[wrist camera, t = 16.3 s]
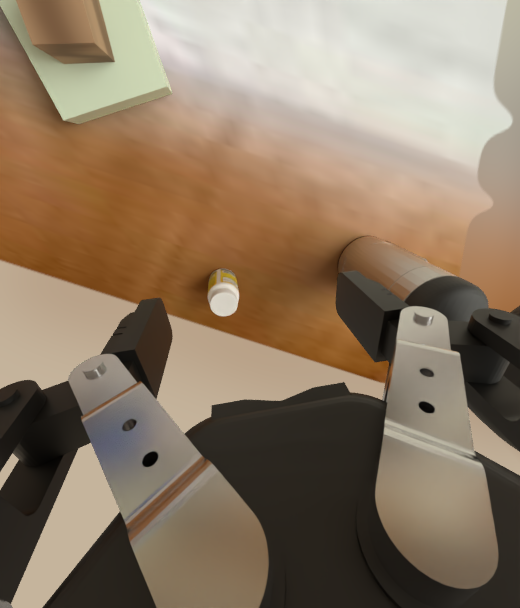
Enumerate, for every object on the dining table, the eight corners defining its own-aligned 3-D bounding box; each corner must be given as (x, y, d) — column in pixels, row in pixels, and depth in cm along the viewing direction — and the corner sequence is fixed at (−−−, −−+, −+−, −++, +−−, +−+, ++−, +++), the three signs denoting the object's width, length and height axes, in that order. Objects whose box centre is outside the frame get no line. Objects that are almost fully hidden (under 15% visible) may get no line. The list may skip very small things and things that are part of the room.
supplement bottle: (213, 295, 44) (212, 322, 37) (205, 271, 42) (201, 294, 35) (239, 289, 45) (243, 314, 37) (232, 264, 42) (235, 286, 35)
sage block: (119, -58, 25) (103, -92, 21) (173, 94, 31) (167, 86, 27) (5, -19, 25) (-30, -47, 22) (80, 124, 31) (63, 120, 28)
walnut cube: (96, -10, 24) (68, -48, 19) (115, 62, 26) (94, 42, 22) (38, -10, 23) (-3, -49, 19) (63, 63, 26) (32, 44, 21)
